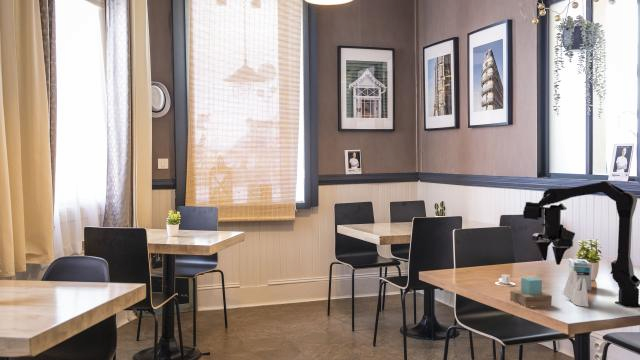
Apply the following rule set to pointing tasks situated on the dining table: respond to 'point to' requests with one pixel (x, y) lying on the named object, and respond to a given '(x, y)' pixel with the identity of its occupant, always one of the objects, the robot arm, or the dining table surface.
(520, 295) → the walnut block
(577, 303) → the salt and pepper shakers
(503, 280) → the teacup and saucer
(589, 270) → the light bulb box
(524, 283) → the teal cube
